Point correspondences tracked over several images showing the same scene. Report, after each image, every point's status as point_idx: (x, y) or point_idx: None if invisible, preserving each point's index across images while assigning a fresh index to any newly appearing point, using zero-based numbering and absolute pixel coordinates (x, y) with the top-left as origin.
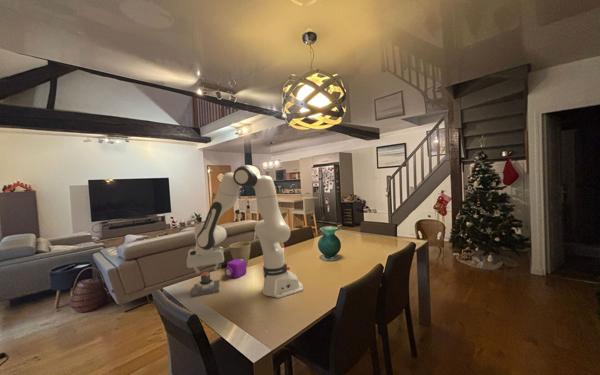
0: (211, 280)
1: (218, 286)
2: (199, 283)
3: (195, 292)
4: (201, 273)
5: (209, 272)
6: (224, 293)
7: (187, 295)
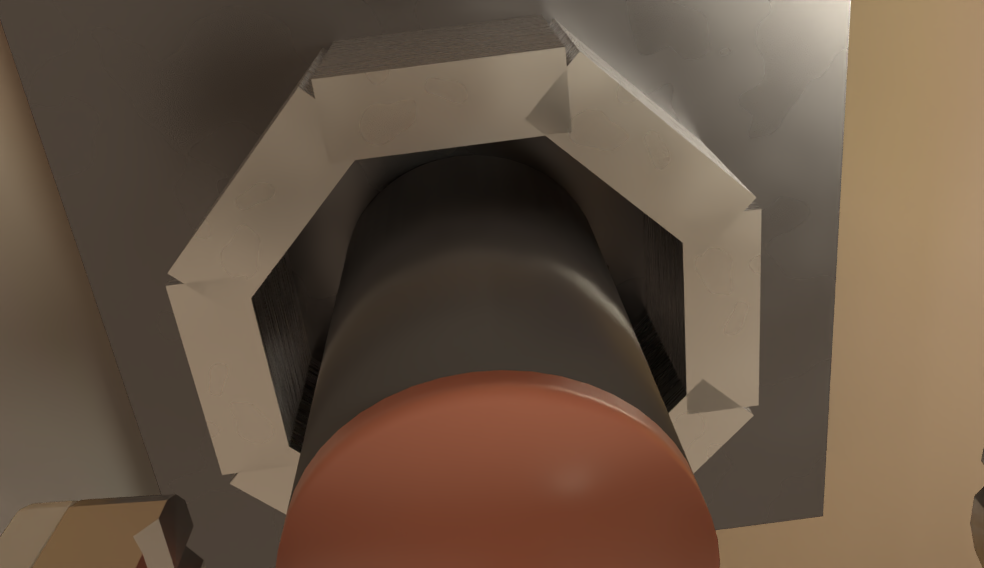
0: (654, 218)
1: (822, 345)
2: (281, 426)
3: (258, 524)
4: (297, 565)
5: (711, 543)
6: (911, 546)
7: (58, 446)
